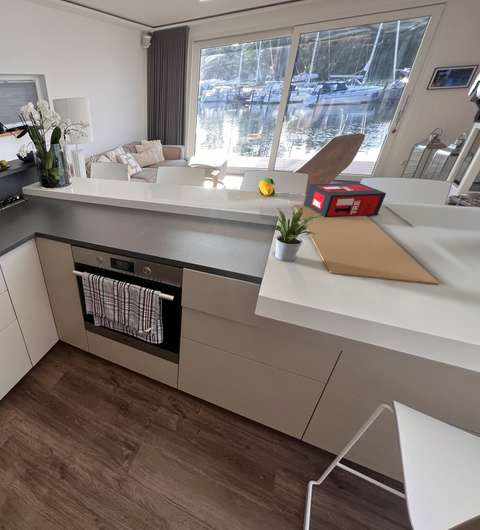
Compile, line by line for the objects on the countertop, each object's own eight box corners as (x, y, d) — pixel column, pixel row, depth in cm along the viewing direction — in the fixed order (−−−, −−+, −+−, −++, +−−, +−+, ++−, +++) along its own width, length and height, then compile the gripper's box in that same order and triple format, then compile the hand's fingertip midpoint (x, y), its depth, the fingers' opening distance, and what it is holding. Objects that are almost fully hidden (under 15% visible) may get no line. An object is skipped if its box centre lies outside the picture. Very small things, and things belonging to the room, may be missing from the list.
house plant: (319, 273, 81) (337, 219, 73) (265, 268, 85) (277, 216, 77) (306, 251, 93) (321, 202, 85) (260, 247, 97) (270, 200, 89)
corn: (274, 174, 149) (279, 184, 133) (272, 189, 152) (277, 200, 136) (258, 175, 151) (262, 185, 135) (257, 189, 155) (260, 200, 139)
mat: (358, 209, 121) (359, 208, 120) (438, 284, 74) (439, 283, 73) (294, 207, 128) (294, 206, 128) (330, 273, 81) (330, 272, 81)
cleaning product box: (350, 202, 128) (303, 204, 129) (357, 182, 123) (309, 184, 125) (377, 215, 113) (324, 217, 115) (386, 193, 109) (331, 195, 110)
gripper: (540, 50, 83) (502, 120, 92) (472, 56, 88) (442, 122, 97) (565, 46, 77) (521, 122, 86) (490, 53, 81) (456, 124, 91)
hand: (479, 122), depth 91 cm, fingers closed
